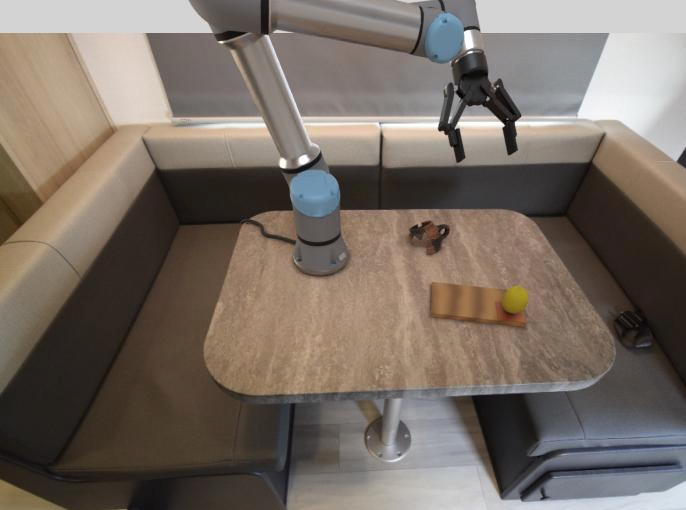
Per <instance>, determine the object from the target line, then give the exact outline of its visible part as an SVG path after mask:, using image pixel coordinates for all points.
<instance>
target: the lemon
mask: <svg viewBox="0 0 686 510" xmlns="http://www.w3.org/2000/svg"><path fill="white" fill-rule="evenodd" d="M506 290H507V291H506V292H505V294H504V295H503V298H502V306H503V308H504V309H505V310H506V311H507V312H509V313H513V314H516V313H520V312H521V311H524V310H525V309H526V308H527V306H528V304H529V301H530V294H529V292H528V290H527V289H525V287H523V286H521V285H513V286H510V287H509V288H508V289H506Z"/></svg>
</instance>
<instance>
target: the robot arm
mask: <svg viewBox="0 0 686 510" xmlns="http://www.w3.org/2000/svg"><path fill="white" fill-rule="evenodd" d="M188 2H189V4H190V6H191V7H192V9H193V10H194V11H195V12H196V15H198V16H199V17H200V18H201V19H202V20H203V21H205V22H206V23H207V24H208V26H209V28H210V30H211V32H212V34H213V36H214V38H215V40H216V42H217V43H218V44H219V45H221V46H222V47H225V48H227V49H228V50H229V52H230V54H231V56H232V58H233V60H234V62H235V64H236V66H237V68H238V70H239V73H240V75H241V76H242V79H243V81H244V83H245V85H246V87H247V89H248V91H249V93H250V95H251V98H252V99H253V102H254V104H255V106H256V108H257V110H258V112H259V114H260V116H261V119H262V120H263V122H264V124H265V127H266V128H267V131H268V133H269V135H270V138H271V140H272V141H273V143H274V145H275V147H276V149H277V152H278V153H279V158H278V162H277V164H278V167H279V169H280V171H281V173H282V175H283V177H284V179H285V181H286V184H287V185H288V188H289V197H290V201H291V206H292V211H293V219H294V224H295V232H296V240H295V239H292V238H289V237H287V236H286V237H285V236H282V235H278V234H272V233H267V232H265V229H264V225H263V224H262V223H260V222H259V221H257V220H254V219H252V218H243V219H242V220H241V221H240V222H239V223H240V224H242V225H243V224H245V223H251V224H254V225H256V226H258V227H259V229H260V230H259V231H260V233H261V234H262V236H264V237H267V238H272V239H276V240H277V239H278V240H281V241H284V242H287V243H291V244H294V250H293V253H292V256H293V263H294V265H295V268H297V269H298V270H299V271H300V272H302V273H304V274H305V275H308V276H314V277H325V276H330V275H331V276H332V275H334V274H336V273H338V272H341V271H342V270H343V269H344V268H345V267H346V265H347V264H348V262H349V249H348V247H347V245H346V242H345V240H344V238H343V235H342V222H341V190H340V185H339V181H338V180H337V179H336V178H335V176H334V175H332V174H331V172H330V168H329V166H328V164H327V162H326V161H325V157H324V156H323V153H322V149H321V147H320V146H319V145H318V144H316V143H314V142H312V141H311V138H310V136H309V133H308V131H307V129H306V126H305V123H304V121H303V118H302V116H301V113H300V111H299V109H298V105H297V103H296V101H295V98H294V96H293V93H292V90H291V88H290V85H289V83H288V81H287V78H286V75H285V73H284V70H283V68H282V66H281V63H280V61H279V58H278V56H277V53H276V51H275V50H276V49H275V48H274V45H273V43H272V41H271V38H270V36H271V35H273V34H274V33H275V32H276V31H282V32H288V33H293V34H298V35H304V36H309V37H315V38H319V39H325V40H331V41H336V42H342V43H346V44H353V45H358V46H363V47H369V48H374V49H379V50H384V51H385V50H386V51H390V52H396V53H400V54H406V55H411V56H415V57H420V58H425V59H428V60H429V61H430V62H432V63H436V64H439V65H445V64H448V63H449V64H450V68H451V76H452V80H453V82H451V81H450V82H448V84H447V85H446V86H445V87H444V89H443V90H442V91H443V103H442V107H441V111H440V117H439V120H438V125H437V131H438V132H443V134H444V135H445V136H447V139H448V144H449V146H450V148H452V149H453V153H454V158H455V162H456V164H459V163H461V162H463V160H465V159H467V157H466V152H465V147H464V143H463V138H462V134H461V129H460V127H457V126H458V124H459V121H460V119H461V117H462V116H463V113H464V111H465V109H466V108H467V107H468V108H470V107H473V106H477V107H479V106H482V107H483V108H486V109H488V111H489V112H491V113H492V114H493V115H494V117H496V118H497V119H498V121H500V122H501V123H502V124H503V125H504V126H502V129H501V130H502V134H503V139H504V144H505V149H506V154H507V156H511V155H513V154H515V153H516V152H518V151H519V148H518V143H517V136H518V132H517V126H516V122H517V121H518V120H520V119H521V118H522V115H523V114H522V113H521V111H520V110H519V108H518V106H517V105H516V103H515V102H514V100H513V99H512V97H511V96H510V95H509V92H508V91H507V89H506V88H505V85H504V83H503V80H502V78H500V77H499V78H497V79H496V81H492V82H491V81H490V79H489V65H488V60H487V55H486V49H485V44H484V40H483V35H482V32H481V26H480V20H479V15H478V11H477V10H478V9H477V2H476V0H421V1H413V2H406V1H401V0H188ZM455 95H456V96H457V97H458V98H459V101H458V103H457V105H456V107H455V110H454V112H453V114H452V116H451V111H452V107H453V102H454V100H455V99H454V98H455ZM450 116H451V117H450ZM456 127H457V128H456Z"/></svg>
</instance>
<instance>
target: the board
mask: <svg viewBox="0 0 686 510" xmlns="http://www.w3.org/2000/svg"><path fill="white" fill-rule="evenodd" d="M430 288H431V291H430V292H431V296H430V297H431V298H430V299H431V300H430V302H431V304H430V306H431V307H430V312H431V313H430V317H431V318H438V319H446V320H447V319H448V320H457V321H463V322H474V323H483V324H491V325H501V326H511V327H517V328H525V327H526V325H527V319H526V315H525V312H524V310H523V311H521V312H520V313H516V314H513V313H509V312H507V311H506V310H505V309H504V308H503V306H502V298H503V295H504V294H505V292H506V291H507V290H508V289H505V288H495V287H485V286H476V285H468V284H467V285H466V284H457V283H448V282H438V281H437V282H436V281H432V282H431V287H430Z"/></svg>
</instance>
